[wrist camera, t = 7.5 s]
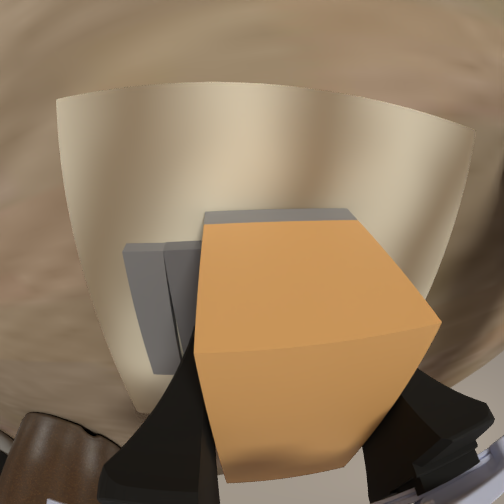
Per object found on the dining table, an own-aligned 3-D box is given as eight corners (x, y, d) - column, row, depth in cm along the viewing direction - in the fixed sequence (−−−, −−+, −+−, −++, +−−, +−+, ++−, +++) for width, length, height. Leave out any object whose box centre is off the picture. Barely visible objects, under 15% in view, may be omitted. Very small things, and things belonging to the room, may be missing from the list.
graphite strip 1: (165, 242, 10) (163, 251, 10) (183, 365, 14) (183, 375, 13) (126, 243, 10) (122, 251, 10) (155, 365, 14) (153, 374, 13)
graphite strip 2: (206, 240, 11) (206, 248, 10) (219, 364, 14) (219, 374, 14) (165, 242, 10) (163, 250, 10) (189, 365, 14) (188, 375, 13)
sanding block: (346, 208, 10) (441, 322, 5) (314, 367, 15) (343, 466, 10) (205, 211, 10) (193, 353, 5) (220, 375, 15) (226, 483, 9)
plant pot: (64, 458, 27) (51, 552, 13) (-17, 391, 18) (-51, 510, 5) (167, 469, 27) (169, 585, 13) (90, 403, 18) (68, 587, 5)
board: (454, 123, 10) (476, 130, 9) (365, 382, 19) (371, 398, 18) (75, 96, 9) (56, 99, 7) (140, 394, 18) (137, 412, 16)
